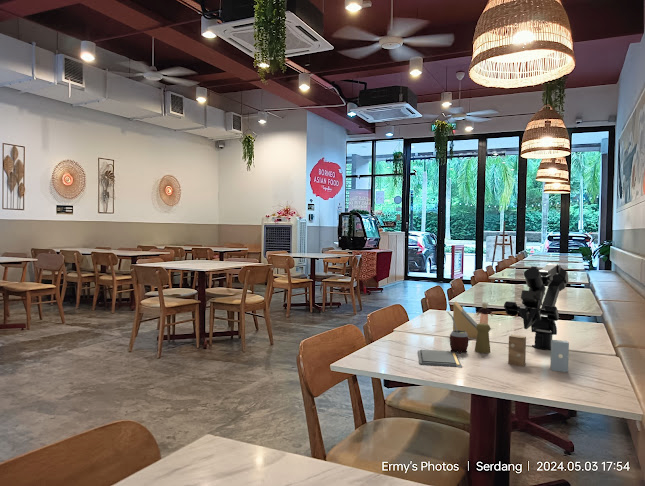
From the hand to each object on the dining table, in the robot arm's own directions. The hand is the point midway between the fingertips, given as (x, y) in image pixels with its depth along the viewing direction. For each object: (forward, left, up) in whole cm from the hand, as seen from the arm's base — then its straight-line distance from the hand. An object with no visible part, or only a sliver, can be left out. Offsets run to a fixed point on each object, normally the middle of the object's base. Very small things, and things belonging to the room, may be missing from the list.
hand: (525, 328), depth 175 cm
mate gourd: (+16, -18, -12) cm, 27 cm away
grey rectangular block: (0, +15, -12) cm, 19 cm away
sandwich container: (-10, -40, -12) cm, 43 cm away
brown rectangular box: (+8, +4, -12) cm, 14 cm away
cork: (+6, -15, -12) cm, 20 cm away
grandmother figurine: (-32, -54, -12) cm, 64 cm away
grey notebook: (+30, -12, -12) cm, 35 cm away
